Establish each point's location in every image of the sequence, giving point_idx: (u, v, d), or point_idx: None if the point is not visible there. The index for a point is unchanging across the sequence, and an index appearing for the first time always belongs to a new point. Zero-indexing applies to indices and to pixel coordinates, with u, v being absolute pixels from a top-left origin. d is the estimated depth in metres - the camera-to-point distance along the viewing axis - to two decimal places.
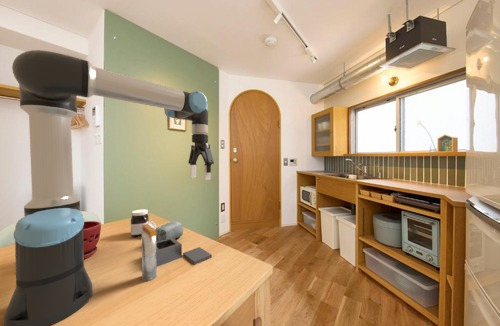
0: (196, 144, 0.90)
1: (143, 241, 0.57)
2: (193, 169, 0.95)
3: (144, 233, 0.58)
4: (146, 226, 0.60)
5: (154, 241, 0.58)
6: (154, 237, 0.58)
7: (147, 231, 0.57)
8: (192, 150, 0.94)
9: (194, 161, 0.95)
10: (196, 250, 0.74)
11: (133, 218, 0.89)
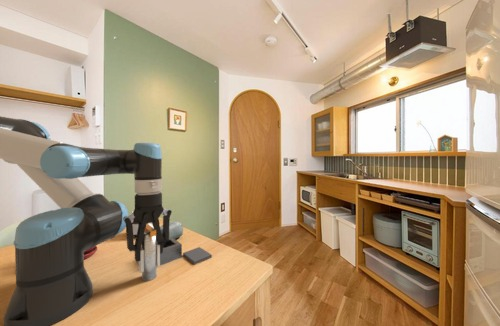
0: None
1: (143, 241, 0.57)
2: None
3: (144, 233, 0.58)
4: (146, 226, 0.60)
5: (154, 241, 0.58)
6: (154, 237, 0.58)
7: (147, 231, 0.57)
8: (163, 216, 0.63)
9: (156, 236, 0.61)
10: (196, 250, 0.74)
11: None
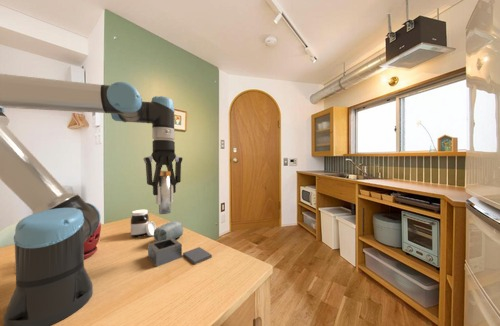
0: None
1: (160, 181, 0.69)
2: None
3: (160, 175, 0.70)
4: (162, 171, 0.71)
5: (169, 182, 0.70)
6: (169, 179, 0.70)
7: (163, 173, 0.69)
8: (175, 163, 0.74)
9: (170, 178, 0.72)
10: (196, 250, 0.74)
11: (133, 218, 0.89)
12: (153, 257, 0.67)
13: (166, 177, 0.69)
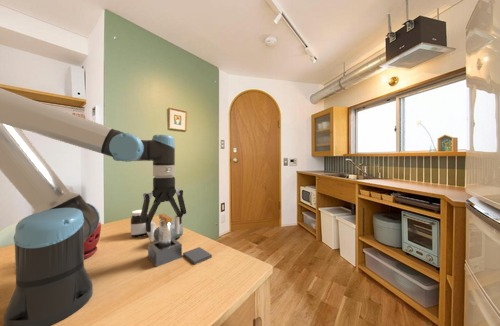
0: None
1: (161, 227, 0.69)
2: (175, 222, 0.74)
3: (161, 220, 0.70)
4: (162, 215, 0.72)
5: (169, 227, 0.71)
6: (169, 224, 0.71)
7: (164, 219, 0.70)
8: (177, 195, 0.75)
9: (175, 211, 0.74)
10: (196, 250, 0.74)
11: (133, 218, 0.89)
12: (153, 257, 0.67)
13: (167, 223, 0.70)
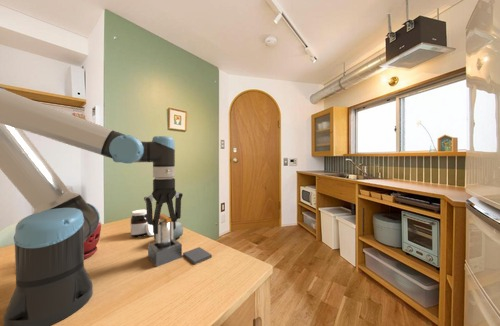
0: None
1: None
2: None
3: (161, 221, 0.70)
4: (162, 215, 0.72)
5: (169, 227, 0.70)
6: (169, 224, 0.70)
7: (163, 219, 0.69)
8: None
9: (170, 215, 0.72)
10: (196, 250, 0.74)
11: (133, 218, 0.89)
12: (153, 257, 0.67)
13: (166, 223, 0.70)
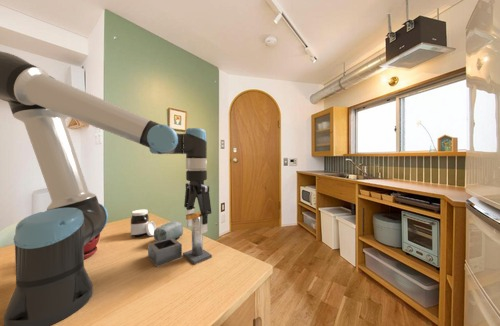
0: (191, 181, 0.72)
1: None
2: None
3: (198, 218, 0.70)
4: (193, 214, 0.70)
5: None
6: None
7: None
8: (187, 189, 0.75)
9: (191, 204, 0.75)
10: None
11: (133, 218, 0.89)
12: (153, 257, 0.67)
13: None
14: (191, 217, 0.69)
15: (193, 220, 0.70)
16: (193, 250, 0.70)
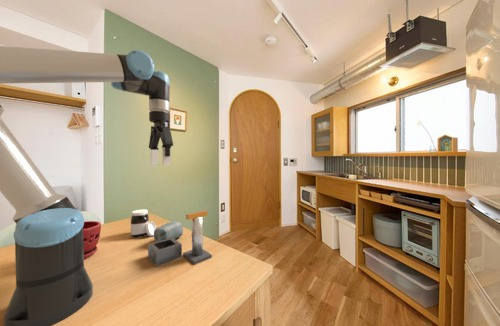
0: (155, 124, 0.76)
1: (201, 222, 0.71)
2: (154, 154, 0.81)
3: (198, 217, 0.71)
4: (193, 213, 0.70)
5: None
6: None
7: (201, 214, 0.72)
8: (152, 132, 0.80)
9: (155, 145, 0.81)
10: None
11: (133, 218, 0.89)
12: (153, 257, 0.67)
13: None
14: (191, 217, 0.69)
15: (193, 220, 0.70)
16: (193, 250, 0.70)
